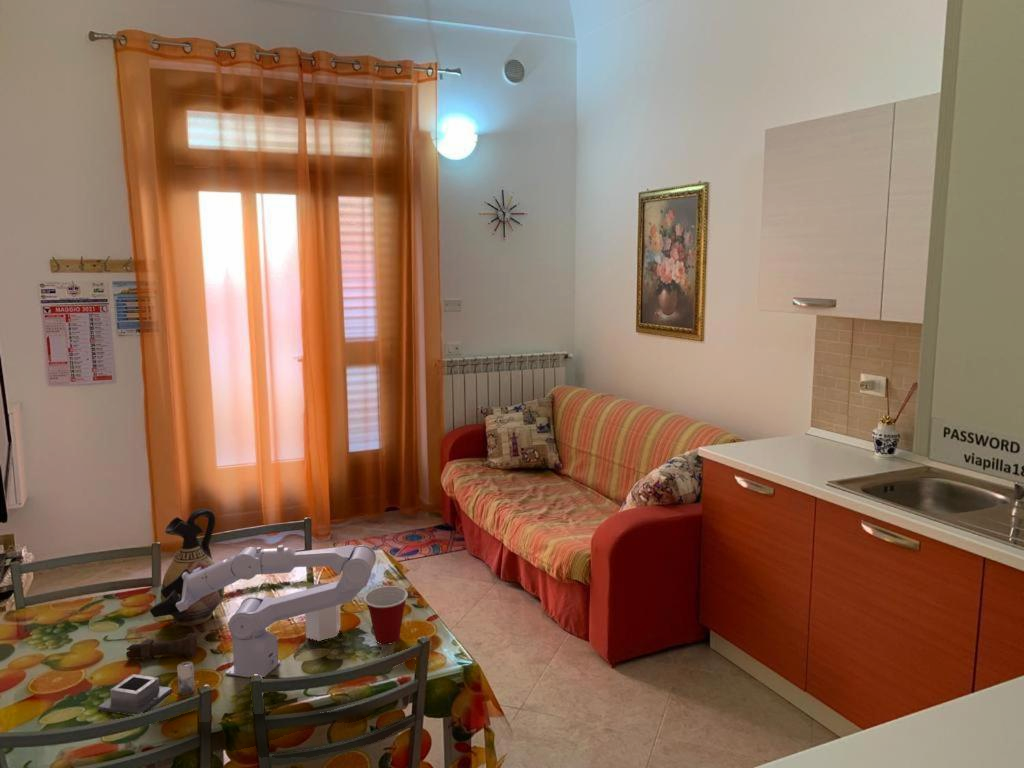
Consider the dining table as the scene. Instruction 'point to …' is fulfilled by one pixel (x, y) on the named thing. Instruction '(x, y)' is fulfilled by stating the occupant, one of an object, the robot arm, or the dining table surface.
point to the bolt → (164, 648)
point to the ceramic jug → (193, 564)
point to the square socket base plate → (135, 695)
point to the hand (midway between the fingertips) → (157, 603)
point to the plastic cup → (386, 612)
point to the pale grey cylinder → (185, 678)
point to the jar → (322, 621)
